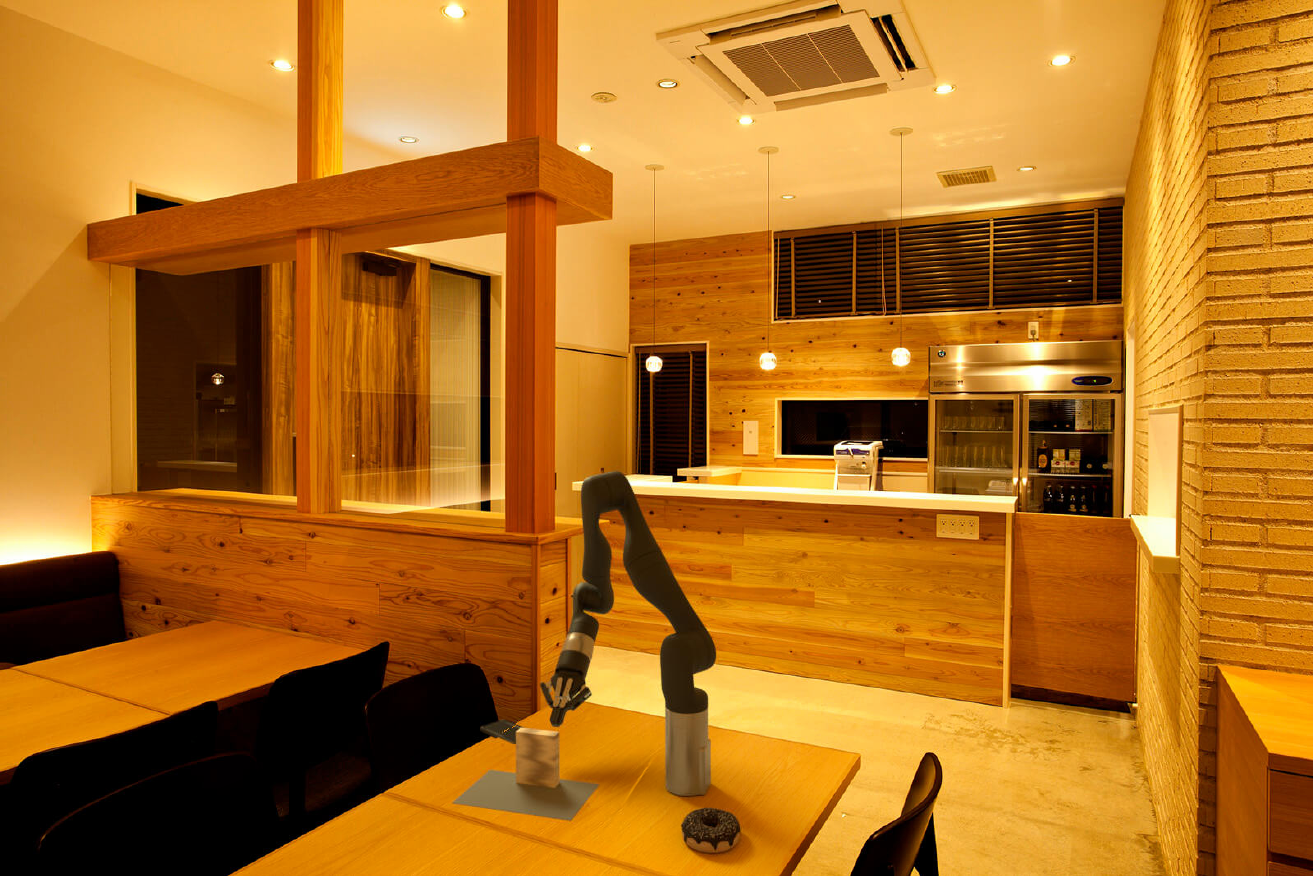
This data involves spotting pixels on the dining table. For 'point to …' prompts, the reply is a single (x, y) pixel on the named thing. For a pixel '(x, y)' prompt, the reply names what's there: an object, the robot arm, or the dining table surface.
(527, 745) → the tan wooden block
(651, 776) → the dining table surface
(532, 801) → the mat
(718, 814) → the donut
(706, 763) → the robot arm
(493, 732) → the phone
